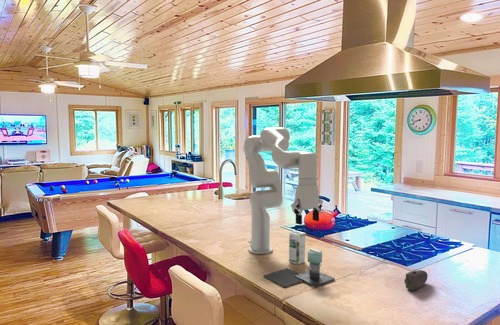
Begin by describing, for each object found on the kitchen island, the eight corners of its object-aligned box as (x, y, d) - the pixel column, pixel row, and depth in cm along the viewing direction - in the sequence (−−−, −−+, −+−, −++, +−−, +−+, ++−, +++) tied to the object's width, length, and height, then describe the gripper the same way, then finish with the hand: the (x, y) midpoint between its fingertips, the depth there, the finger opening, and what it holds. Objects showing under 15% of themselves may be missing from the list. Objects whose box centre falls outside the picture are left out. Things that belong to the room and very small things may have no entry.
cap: (304, 260, 158) (304, 249, 158) (314, 257, 162) (314, 246, 162) (315, 264, 154) (315, 253, 153) (324, 261, 157) (325, 250, 157)
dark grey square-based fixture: (294, 277, 160) (294, 259, 159) (313, 271, 167) (314, 254, 166) (315, 287, 150) (315, 268, 149) (334, 280, 157) (335, 262, 157)
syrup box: (288, 261, 178) (288, 232, 177) (295, 258, 183) (296, 230, 181) (297, 265, 174) (298, 235, 173) (305, 261, 179) (305, 232, 177)
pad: (263, 276, 161) (263, 275, 161) (287, 269, 169) (287, 268, 169) (284, 288, 150) (284, 286, 150) (309, 279, 158) (309, 278, 158)
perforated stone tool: (420, 280, 158) (421, 264, 157) (432, 284, 154) (433, 268, 153) (400, 289, 149) (400, 272, 149) (412, 294, 145) (413, 277, 144)
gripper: (315, 179, 163) (315, 217, 164) (285, 182, 153) (285, 223, 154) (328, 181, 157) (328, 221, 158) (298, 184, 147) (298, 227, 148)
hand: (307, 222), depth 156 cm, fingers open, 9 cm apart
